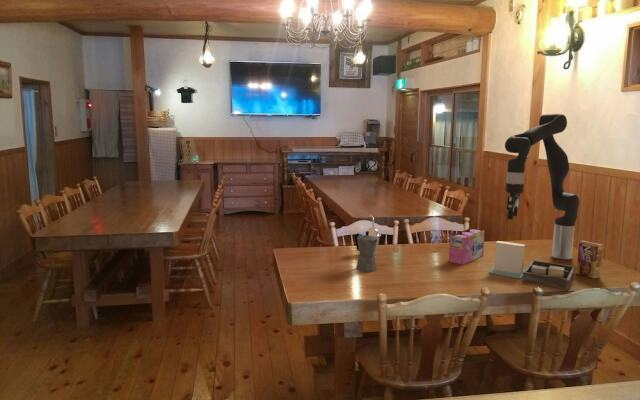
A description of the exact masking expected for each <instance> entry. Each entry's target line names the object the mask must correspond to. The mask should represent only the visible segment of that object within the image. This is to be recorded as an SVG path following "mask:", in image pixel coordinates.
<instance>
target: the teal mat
mask: <svg viewBox="0 0 640 400" xmlns="http://www.w3.org/2000/svg"><path fill="white" fill-rule="evenodd" d="M525 269H526V268H525ZM525 269H524V268H523V272H524V270H525ZM488 274H489V275H490V274H491V275H497V276H501V277H505V278H506V277H507V278H513V279H519V280H523V273H522V274H517V273H511V272H505V271H499V270H494V267H492V268H491V269H490V270H489V271H488Z"/></svg>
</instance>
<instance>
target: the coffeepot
mask: <svg viewBox="0 0 640 400" xmlns="http://www.w3.org/2000/svg"><path fill="white" fill-rule="evenodd" d="M365 233H366V235H365V234H361V233H356V234H355V235H354V240H355V245H356V250H357V251H358V252H359V255H358V258H357V262H356V263H357V264H356V269H357V271H358V272H359V271H360V272H363V273H370V272H371V273H372V272H374V271H376V270H377V265H376V258H375V255H374V252H375V249H376V244H377V238H376V237H375V236H370V235H369V232H368V231H367V230H366V231H365Z"/></svg>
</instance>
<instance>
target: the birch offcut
mask: <svg viewBox="0 0 640 400" xmlns="http://www.w3.org/2000/svg"><path fill="white" fill-rule="evenodd" d="M548 276H552V277H558V278H564V268H563V267H556V266H550V267H549V272H548Z"/></svg>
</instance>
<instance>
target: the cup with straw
mask: <svg viewBox="0 0 640 400" xmlns="http://www.w3.org/2000/svg"><path fill="white" fill-rule="evenodd" d="M369 215H370V217H371V218H372V227H369V228H368V229H366V231H368V232H369V235H370V236H375V237H376V238H377V244H376V249H375V252H374V256H375V255H378V254H377V253H378V248H379V241H380V237H382V234H381V233H380V231H379V229H378V228H376V227H375V217H374V216H373V215H372V213H370V214H369ZM364 235H366V232H364Z"/></svg>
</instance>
